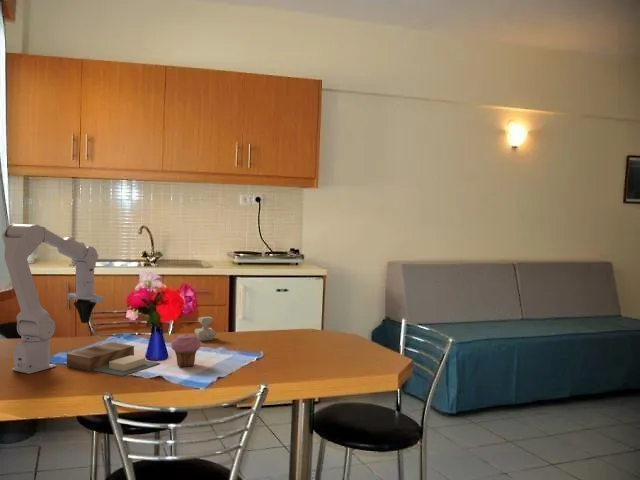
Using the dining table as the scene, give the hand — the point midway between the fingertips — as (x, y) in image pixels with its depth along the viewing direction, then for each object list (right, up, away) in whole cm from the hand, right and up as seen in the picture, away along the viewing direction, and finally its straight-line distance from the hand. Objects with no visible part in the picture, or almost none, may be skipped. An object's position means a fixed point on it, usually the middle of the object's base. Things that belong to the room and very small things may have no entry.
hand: (85, 322), depth 199 cm
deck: (+9, -11, -10) cm, 17 cm away
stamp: (+35, -10, +24) cm, 44 cm away
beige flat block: (+19, -9, -15) cm, 26 cm away
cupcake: (+36, -12, -11) cm, 40 cm away
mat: (+19, -12, -15) cm, 27 cm away
